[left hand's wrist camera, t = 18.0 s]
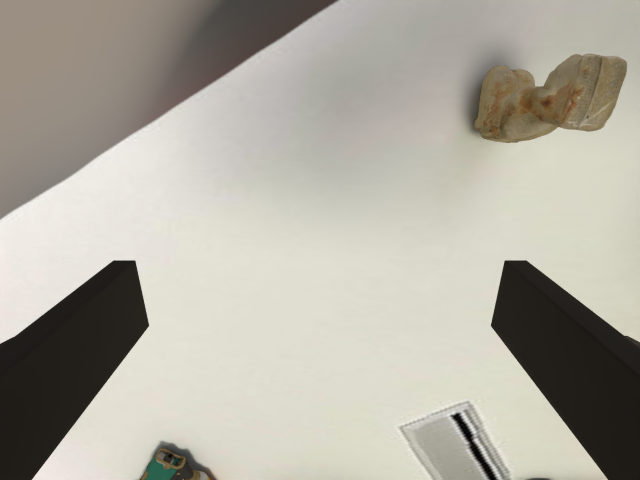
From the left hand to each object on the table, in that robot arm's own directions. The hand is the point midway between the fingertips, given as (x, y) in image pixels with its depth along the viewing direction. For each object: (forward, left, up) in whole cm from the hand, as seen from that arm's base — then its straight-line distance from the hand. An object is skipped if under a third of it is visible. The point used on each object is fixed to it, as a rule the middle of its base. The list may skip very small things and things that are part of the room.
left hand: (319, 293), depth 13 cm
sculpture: (-20, +4, -30) cm, 36 cm away
